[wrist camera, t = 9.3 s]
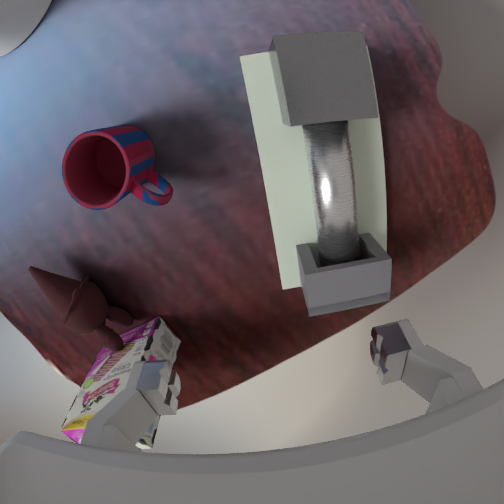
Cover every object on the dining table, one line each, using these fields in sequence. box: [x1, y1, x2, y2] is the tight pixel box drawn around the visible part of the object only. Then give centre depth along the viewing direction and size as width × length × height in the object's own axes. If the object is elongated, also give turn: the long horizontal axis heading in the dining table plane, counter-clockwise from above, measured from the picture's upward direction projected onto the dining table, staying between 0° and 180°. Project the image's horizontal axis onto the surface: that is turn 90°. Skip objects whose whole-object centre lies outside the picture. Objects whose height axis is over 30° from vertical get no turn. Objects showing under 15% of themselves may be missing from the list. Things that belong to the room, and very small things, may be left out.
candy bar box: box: [60, 316, 181, 449], centre depth 30 cm, size 11×5×16 cm, turn 119°
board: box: [240, 46, 387, 289], centre depth 28 cm, size 24×12×1 cm, turn 11°
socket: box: [296, 233, 392, 316], centre depth 29 cm, size 4×8×6 cm, turn 101°
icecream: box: [29, 266, 133, 352], centre depth 31 cm, size 7×7×15 cm
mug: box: [62, 125, 173, 210], centre depth 25 cm, size 7×10×7 cm
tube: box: [302, 120, 359, 267], centre depth 27 cm, size 15×4×4 cm, turn 11°
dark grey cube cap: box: [269, 32, 378, 127], centre depth 21 cm, size 7×7×6 cm
